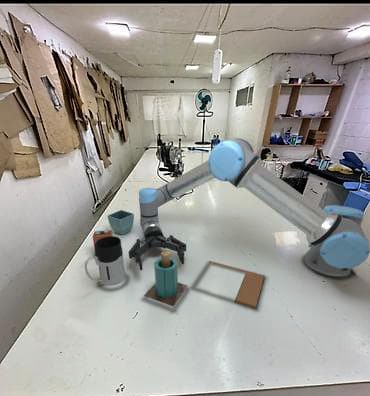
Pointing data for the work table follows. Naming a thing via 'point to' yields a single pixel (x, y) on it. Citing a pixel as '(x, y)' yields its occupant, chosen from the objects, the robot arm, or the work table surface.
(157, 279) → the sleeve
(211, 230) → the work table surface
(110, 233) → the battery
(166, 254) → the peg stand
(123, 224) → the flower pot
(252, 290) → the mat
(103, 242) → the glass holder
